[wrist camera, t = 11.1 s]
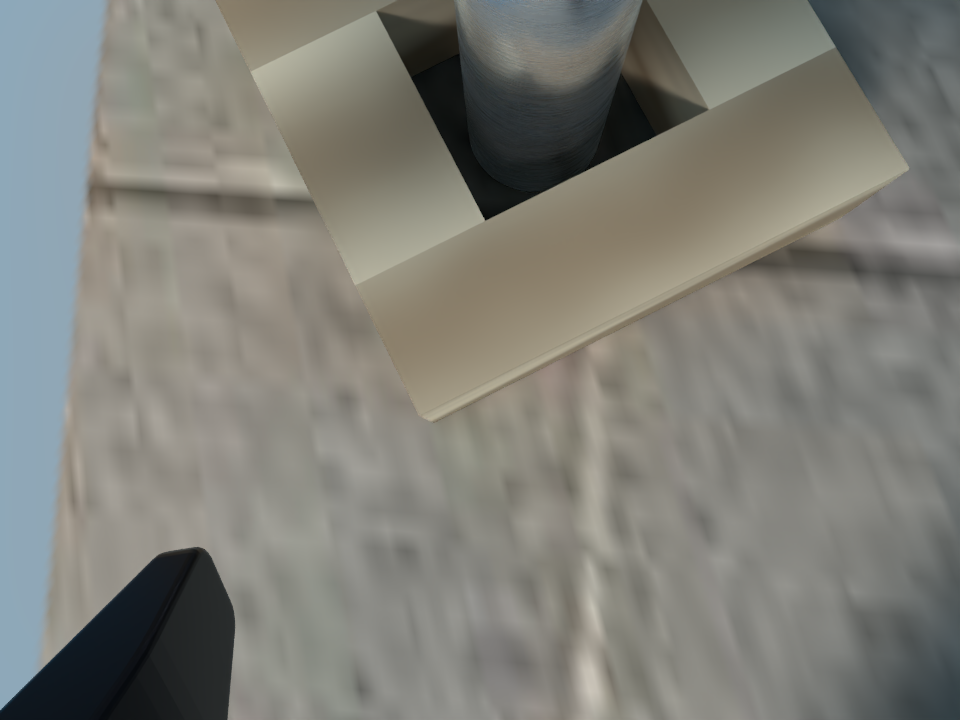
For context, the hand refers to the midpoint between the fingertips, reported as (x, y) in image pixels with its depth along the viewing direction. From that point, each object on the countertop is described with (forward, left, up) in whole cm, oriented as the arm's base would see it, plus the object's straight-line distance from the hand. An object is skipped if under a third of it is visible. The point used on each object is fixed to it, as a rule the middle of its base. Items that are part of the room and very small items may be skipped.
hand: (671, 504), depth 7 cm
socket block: (+9, -4, -12) cm, 16 cm away
